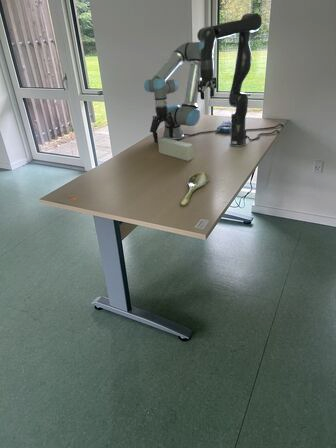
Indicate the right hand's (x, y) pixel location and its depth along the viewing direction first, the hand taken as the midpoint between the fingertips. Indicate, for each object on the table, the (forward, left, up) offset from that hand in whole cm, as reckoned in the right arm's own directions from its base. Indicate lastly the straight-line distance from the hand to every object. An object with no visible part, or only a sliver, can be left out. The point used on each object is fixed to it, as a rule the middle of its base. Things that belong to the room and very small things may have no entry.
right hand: (207, 97), depth 198 cm
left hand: (+22, -19, -25) cm, 38 cm away
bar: (+19, -10, -34) cm, 40 cm away
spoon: (+38, +41, -34) cm, 65 cm away
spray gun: (-41, -32, -34) cm, 62 cm away
